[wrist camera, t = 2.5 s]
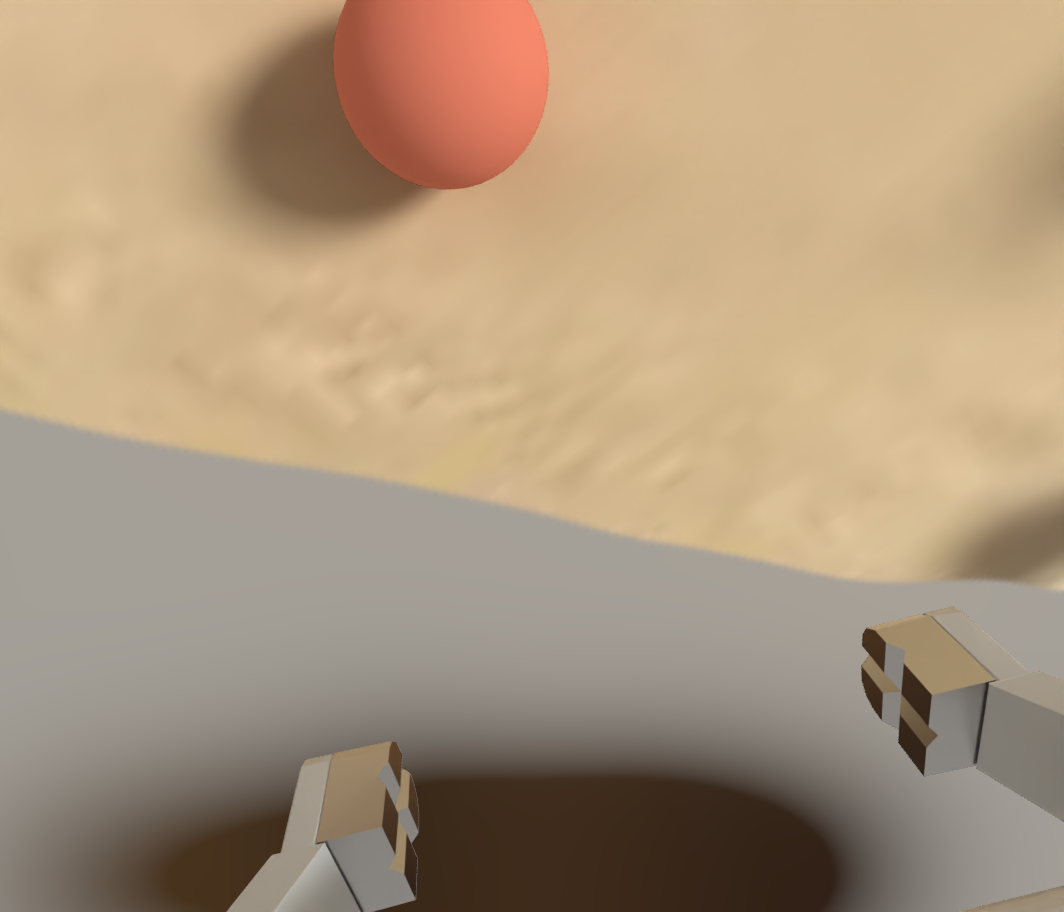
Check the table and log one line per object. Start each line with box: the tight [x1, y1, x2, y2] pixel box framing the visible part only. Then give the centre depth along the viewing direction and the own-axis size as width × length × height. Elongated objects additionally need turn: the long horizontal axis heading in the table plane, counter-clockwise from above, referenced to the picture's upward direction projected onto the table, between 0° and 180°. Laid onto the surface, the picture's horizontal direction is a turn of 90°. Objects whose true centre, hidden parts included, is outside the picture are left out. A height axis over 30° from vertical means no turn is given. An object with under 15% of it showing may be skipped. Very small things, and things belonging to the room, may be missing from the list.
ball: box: [333, 0, 549, 189], centre depth 19 cm, size 6×6×6 cm
